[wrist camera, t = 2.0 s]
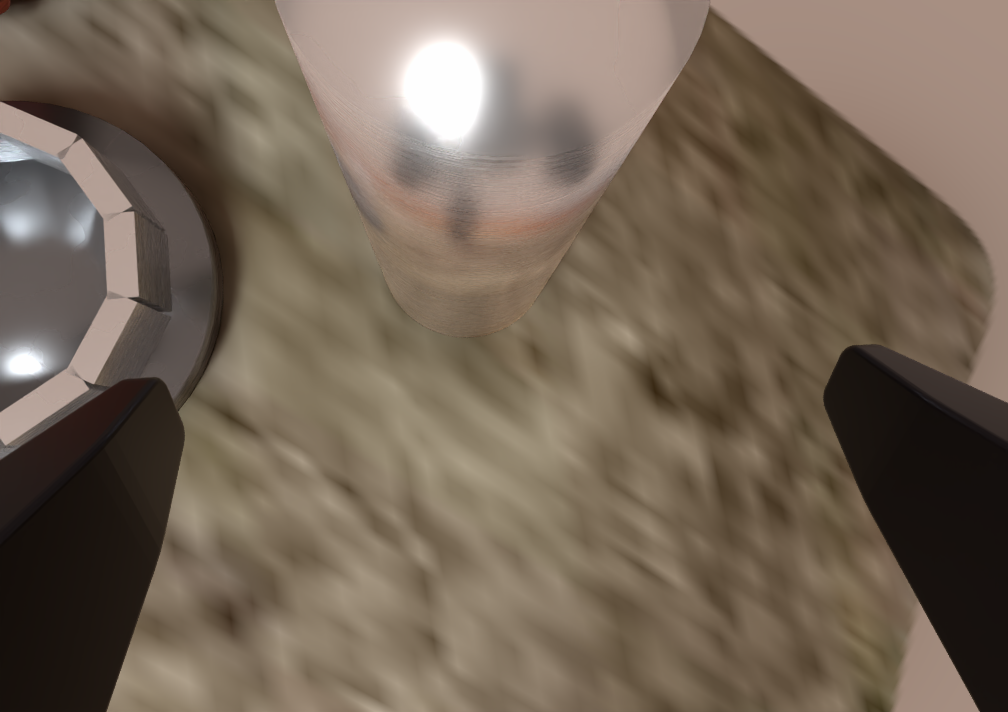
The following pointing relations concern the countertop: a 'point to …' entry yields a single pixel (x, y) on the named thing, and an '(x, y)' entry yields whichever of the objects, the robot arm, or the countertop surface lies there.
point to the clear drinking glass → (483, 132)
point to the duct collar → (95, 268)
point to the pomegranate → (4, 5)
